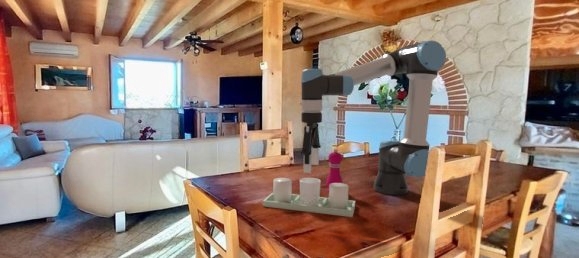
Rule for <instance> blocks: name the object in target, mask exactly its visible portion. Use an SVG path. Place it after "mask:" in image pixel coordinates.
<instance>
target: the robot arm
mask: <svg viewBox="0 0 579 258" xmlns="http://www.w3.org/2000/svg"><path fill="white" fill-rule="evenodd" d="M446 61H447V53H446V50H445V48H444V47H443V46H442V44H441V43H440V42H438V41H436V40H424V41H423V40H422V41H421V42H417V43H412V44H408V45H405V46H403V47H400V48H398V49H396V50H393V51H391V52H388V53H386V54H384V55H382V57H380V58H378V59H374V60H371V61H369V62H365V63H362V64H360V65H356V66H353V67H350V68H347V69H343V70H341V71H338V72H333V73H331V74H328V75H327V74H324V72H323V69H321V68H305V69H303V70H302V71H301V72H302V73H301V102H300V104H299V105H301V111H302V112H301V122H302V123H304V124H306V126H304V127H303V129H304V130H303V139H302V148H301V149H302V150H301V152H300V155H303V160H302V161H303V164H302V169H303V174H312V166H314V165H315V166H319V159H320V158H319V157H320V156H319V155H320V152H319V151H320V149H321V147H322V146H321V143H320V132H319V124H320V123H322V122H323V113H322V112H321V111H323V97H324V96H341V97H343V96H349V95H351V94H352V93H353V91H354V87H355V86H357V85H360V84H364V83H366V82H369V81H372V80H375V79H379V78H381V77H384V76H388V77H392V76H394V75H399V74H400V75H401V74H406V77H407V78H408V79H409V82H408V83H409V84H408V85H409V86H408V93H407V103H406V111H405V121H404V132H403V138H401V139H400V140H382V141H380V143H379V146H378V147H379V148H378V168H377V169H378V172H377V174H376V177H375V179H374V183H373V190H374V191H375V192H378V193H380V194H385V195H390V196H401V195H402V196H403V195H406V194H408V193H409V185H408V181H407V177H406V175H407V176H409V177H414V178H422V177H425V176H426V175H425V170H426V164H427V158H428V151H430V143H429V142H428V141H427V133H428V126H429V125H428V123H429V115H430V108H431V106H430V105H431V99H432V98H431V97H432V89H433V81H434V80H435V79H436V78H438V75H439V74H438V73H439V70H441V69H442V68H443V67H444V66H445V63H446Z"/></svg>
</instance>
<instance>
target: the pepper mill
mask: <svg viewBox="0 0 579 258" xmlns="http://www.w3.org/2000/svg"><path fill="white" fill-rule="evenodd" d="M327 158H328V161H329V163H328V164H329V174H328V176H327V179H326V183H325V186H326V187H327V189H326V192H327V193H328V194H329V184H331V183H343V179H342V176H341V170H340V169H341V167H342V166H341V165H342V164H341V163H342V161H343V155H342V153H340V152H338V148H334V149H333V151H332V152H330V153H329V155H328V157H327ZM343 184H344V183H343Z"/></svg>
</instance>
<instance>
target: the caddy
mask: <svg viewBox="0 0 579 258" xmlns="http://www.w3.org/2000/svg"><path fill="white" fill-rule="evenodd" d="M328 206H329V197H322V196H320V197H319V206H309V205H301V199H300V194H295V193H291V203H283V202H275V201H273V192H271V193H270V194H269V195H268V196H267V197H265V198H264V199H263V200H262V207H267V208H276V209H282V210H283V209H284V210H291V211H299V212H300V211H301V212H307V213H316V214H324V215H333V216H341V217H347V218H348V217H350V218H353V216H354V214H355V213H354V212H355V209H356V208H355V207H356V200H351V199H350V200H349V199H348V210H344V209H335V208H328Z"/></svg>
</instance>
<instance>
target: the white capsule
mask: <svg viewBox="0 0 579 258" xmlns="http://www.w3.org/2000/svg"><path fill="white" fill-rule="evenodd" d="M272 183H273V184H272V185H273V187H272V188H273V189H272V190H273V201H275V202H283V203H291V194H292V184H293V181H292V178H286V177H277V178H274V179H273V182H272Z"/></svg>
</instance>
